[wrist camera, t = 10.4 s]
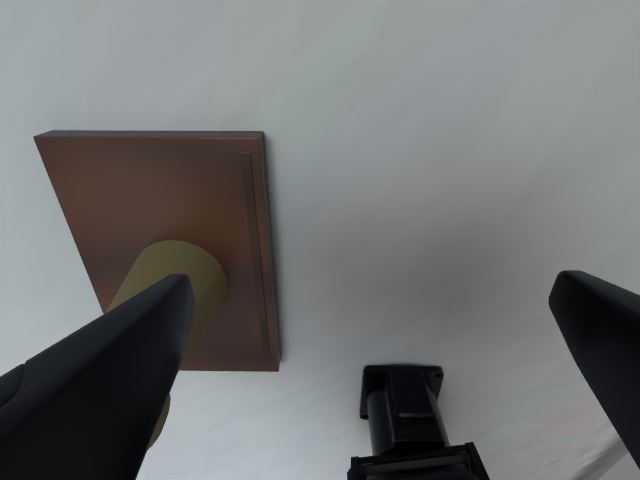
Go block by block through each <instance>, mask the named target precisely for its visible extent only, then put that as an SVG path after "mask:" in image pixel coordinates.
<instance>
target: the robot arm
mask: <svg viewBox="0 0 640 480" xmlns="http://www.w3.org/2000/svg"><path fill="white" fill-rule="evenodd" d="M195 307H196V302H195V297H194V293H193V289H192V285H191V281H190V278H189V276H188V275H186V274H170V275H168V276H167V277H165V278H163V279H162V280H160V281H158V282H157V283H155V284H153V285H152V286H150V287H148V288H147V289H145V290H143V291H142V292H140V293H138V294H137V295H135V296H133V297H132V298H130V299H128V300H127V301H125V302H123V303H122V304H120V305H118V306H117V307H115V308H113V309H112V310H110V311H109V312H107V313H105V314H104V315H102V316H100V317H99V318H97V319H95V320H94V321H92V322H90V323H89V324H87V325H85V326H84V327H82V328H80V329H79V330H77V331H75V332H74V333H72V334H70V335H69V336H67V337H65V338H64V339H62V340H60V341H59V342H57V343H55V344H54V345H52V346H51V347H49V348H47V349H46V350H44V351H42V352H41V353H39V354H37V355H36V356H34V357H32V358H31V359H29V360H27V361H26V362H25V364H20V365H19V366H17V367H16V368H14V369H12V370H11V371H9V372H7V373H6V374H4V375H2V376H1V377H0V480H136V477H137V475H138V472H139V470H140V467H141V465H142V462H143V459H144V457H145V454H146V452H147V449H148V447H149V444H150V442H151V439H152V436H153V434H154V431H155V429H156V426H157V424H158V421H159V419H160V416H161V413H162V411H163V408H164V406H165V403H166V401H167V398H168V396H169V393H170V390H171V388H172V385H173V383H174V380H175V378H176V375H177V372H178V370H179V367H180V364H181V361H182V357H183V354H184V350H185V346H186V342H187V339H188V335H189V331H190V327H191V323H192V320H193V316H194V312H195ZM549 307H550V309H551V311H552V314H553V316H554V318H555V320H556V322H557V324H558V326H559V329H560V331H561V333H562V335H563V337H564V339H565V341H566V343H567V346H568V348H569V350H570V352H571V354H572V356H573V358H574V360H575V362H576V364H577V366H578V367H579V369H580V371H581V373H582V374H583V376H584V378H585V379H586V381H587V383H588V384H589V386H590V388H591V389H592V391H593V393H594V394H595V396H596V398H597V399H598V401H599V403H600V404H601V406H602V408H603V409H604V411H605V413H606V414H607V416H608V418H609V419H610V421H611V423H612V424H613V426H614V428H615V429H616V431H617V433H618V434H619V436H620V438H621V439H622V441H623V443H624V444H625V446H626V448H627V449H628V451H629V453H630V454H631V456H632V458H633V459H634V461H635V462H636V464H637V466H638V467H639V469H640V295H638V294H635V293H633V292H630V291H628V290H626V289H623V288H621V287H619V286H616V285H614V284H611V283H609V282H607V281H604V280H602V279H600V278H597V277H595V276H592V275H590V274H588V273H585V272H583V271H579V270H568V271H561V272H560V273H559V274H558V275H557V278H556V280H555V283H554V285H553V288H552V291H551V293H550V296H549ZM369 372H370V373H369ZM443 376H444V373H443V370H442V369H441V368H440V367H384V366H368V367H365V368H364V370H363V378H362V390H361V401H360V418H361V419H363V420H369V427H370V436H371V445H372V453H373V456H368V457H360V458H359V457H358V456H357V457H351V469H349V471H348V472H347V480H490V479H489V477H488V474H487V472H486V470H485V468H484V465H483V463H482V461H481V459H480V456H479V454H478V452H477V450H476V447H475V445H474V443H473V442H467V443H465V444H463V445H456V446H450V443H449V440H448V436H447V433H446V430H445V427H444V423H443V420H442V417H441V414H440V410H439V407H438V404H437V400H438V396H439V392H440V388H441V384H442V380H443Z"/></svg>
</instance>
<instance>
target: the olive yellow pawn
mask: <svg viewBox="0 0 640 480" xmlns="http://www.w3.org/2000/svg"><path fill="white" fill-rule="evenodd" d="M170 274H186V275H188V276H189V278H190V281H191V285H192V289H193V293H194V297H195V302H196V307H195V312H194V316H193V320H192V323H191V327H190V331H189V335H188V339H187V342H186V346H185V350H184V354H183V357H182V361H181V364H180V367H179V370H180V368H181V366H182V365H183V363H184V362H185V360H186V359H187V357H188V355H189V354H190V352H191V351H192V349H193V348H194V346H195V344H196V343H197V341H198V340H199V338H200V336H201V335H202V333H203V332H204V330H205V329H206V327H207V325H208V324H209V322H210V321H211V319H212V318H213V316H214V314H215V313H216V311H217V310H218V308H219V307H220V305H221V303H222V302H223V300H224V298H225V295H226V293H227V290H228V286H227V276H226V274H225V272H224V270H223V267H222V266H221V264H220V263H219V262H218V261H217V260H216V259H215V258H214V256H213V255H211V254H210V253H208V252H207V251H205V250H204V249H202V248H201V247H199V246H196V245H194V244H191V243H188V242H185V241H175V240H166V241H161V242H156V243H153V244H152V245H150V246H148V247H147V248H145V249H144V250H143V251H142V252H141V254H140V255H139V256H138V258H137V259H136V261H135V263H134V264H133V266H132V268H131V270H130V271H129V273H128V275H127V277H126V278H125V280H124V282H123V284H122V285H121V287H120V289H119V291H118V292H117V294H116V296H115V298H114V299H113V301H112V303H111V305H110V306H109V308H108V310H107V311H106V313H107V312H109V311H110V310H112V309H113V308H115V307H117V306H118V305H120V304H122V303H123V302H125V301H127V300H128V299H130V298H132V297H133V296H135V295H137V294H138V293H140V292H142V291H143V290H145V289H147V288H148V287H150V286H152V285H153V284H155V283H157V282H158V281H160V280H162V279H163V278H165V277H167V276H168V275H170ZM179 370H178V371H179ZM177 373H178V372H177ZM169 406H170V394H169V396H168V398H167V401H166V403H165V406H164V408H163V411H162V413H161V416H160V419H159V421H158V424H157V426H156V429H155V431H154V434H153V436H152V439H151V442H150V444H149V447H148V449H149V448H150V447H151V446H152V445H153V444H154V442H155V441H156V440H157V438H158V437H159V435H160V434H161V431H162V429H163V426H164V424H165V421H166V418H167V415H168V412H169ZM148 449H147V450H148Z"/></svg>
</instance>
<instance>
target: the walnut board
mask: <svg viewBox="0 0 640 480" xmlns="http://www.w3.org/2000/svg"><path fill="white" fill-rule="evenodd" d="M33 138H34V140H35V143H36V145H37V148H38V150H39V153H40V155H41V158H42V160H43V163H44V165H45V168H46V171H47V173H48V176H49V178H50V181H51V183H52V186H53V188H54V191H55V193H56V196H57V198H58V201H59V203H60V206H61V208H62V211H63V213H64V216H65V218H66V221H67V223H68V226H69V228H70V231H71V233H72V236H73V238H74V241H75V243H76V246H77V248H78V251H79V253H80V256H81V258H82V261H83V263H84V266H85V268H86V271H87V273H88V276H89V278H90V281H91V283H92V286H93V288H94V291H95V293H96V296H97V298H98V301H99V303H100V306H101V308H102V311H103V313H104V314H105V313H106V311H107V310H108V308H109V306H110V305H111V303H112V301H113V299H114V298H115V296H116V294H117V292H118V291H119V289H120V287H121V285H122V284H123V282H124V280H125V278H126V277H127V275H128V273H129V271H130V270H131V268H132V266H133V264H134V263H135V261H136V259H137V258H138V256H139V255H140V254H141V252H142V251H143V250H144V249H145V248H147V247H148V246H150V245H152V244H153V243H156V242H161V241H166V240H175V241H185V242H188V243H191V244H194V245H196V246H199V247H201V248H202V249H204V250H205V251H207V252H208V253H210V254H211V255H213V256H214V258H215V259H216V260H217V261H218V262H219V263H220V264H221V266H222V267H223V270H224V272H225V274H226V276H227V286H228V290H227V293H226V295H225V298H224V300H223V302H222V303H221V305H220V307H219V308H218V310H217V311H216V313H215V314H214V316H213V318H212V319H211V321H210V322H209V324H208V325H207V327H206V329H205V330H204V332H203V333H202V335H201V336H200V338H199V340H198V341H197V343H196V344H195V346H194V348H193V349H192V351H191V352H190V354H189V355H188V357H187V359H186V360H185V362H184V363H183V365H182V366H181V368H180V370H186V371H267V372H278V371H279V366H280V359H281V353H280V340H279V327H278V314H277V301H276V288H275V276H274V263H273V250H272V237H271V224H270V211H269V199H268V186H267V173H266V160H265V147H264V134H263V131H57V130H52V131H49V132H46V133H43V134H40V135H37V136H34V137H33Z"/></svg>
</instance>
